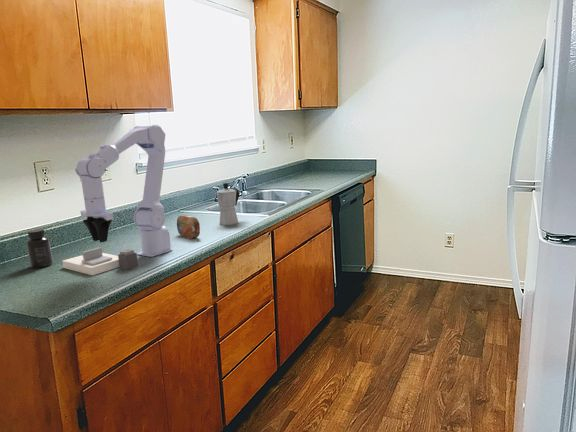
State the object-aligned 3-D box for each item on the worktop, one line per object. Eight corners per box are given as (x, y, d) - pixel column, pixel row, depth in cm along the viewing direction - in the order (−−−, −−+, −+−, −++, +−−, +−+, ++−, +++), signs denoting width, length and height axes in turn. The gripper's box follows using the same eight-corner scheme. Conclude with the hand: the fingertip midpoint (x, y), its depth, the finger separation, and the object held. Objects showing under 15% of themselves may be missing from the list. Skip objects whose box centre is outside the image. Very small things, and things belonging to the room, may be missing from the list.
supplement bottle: (57, 261, 159) (51, 227, 156) (47, 267, 152) (41, 232, 150) (36, 263, 158) (30, 229, 156) (26, 269, 152) (20, 233, 149)
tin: (177, 234, 189) (174, 214, 188) (184, 233, 191) (182, 213, 190) (195, 240, 178) (193, 218, 176) (202, 238, 180) (200, 217, 178)
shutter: (100, 256, 152) (99, 246, 151) (112, 259, 148) (110, 249, 147) (81, 262, 147) (80, 251, 146) (93, 265, 143) (91, 254, 142)
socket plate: (96, 258, 160) (95, 249, 160) (126, 264, 150) (125, 255, 150) (63, 267, 151) (61, 258, 150) (92, 275, 141) (91, 265, 140)
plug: (130, 265, 150) (128, 248, 149) (138, 266, 147) (136, 249, 146) (119, 268, 147) (117, 251, 146) (127, 270, 144) (125, 253, 143)
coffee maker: (227, 227, 198) (224, 185, 194) (211, 225, 202) (208, 184, 199) (248, 220, 210) (245, 180, 206) (233, 218, 215) (230, 180, 211)
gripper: (69, 198, 142) (75, 241, 145) (95, 201, 134) (101, 246, 136) (90, 195, 148) (96, 236, 151) (116, 197, 139) (122, 241, 142)
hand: (100, 241), depth 144 cm, fingers open, 3 cm apart
